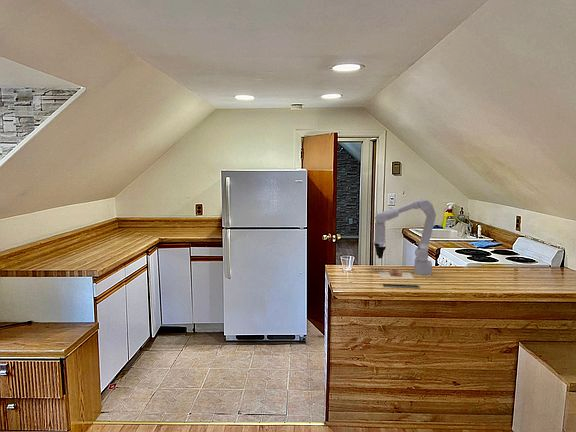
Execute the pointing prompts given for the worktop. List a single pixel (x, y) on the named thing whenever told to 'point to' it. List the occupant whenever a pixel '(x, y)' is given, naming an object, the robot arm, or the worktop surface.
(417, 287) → the mat
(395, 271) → the block
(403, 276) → the board
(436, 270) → the worktop surface
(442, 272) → the worktop surface
